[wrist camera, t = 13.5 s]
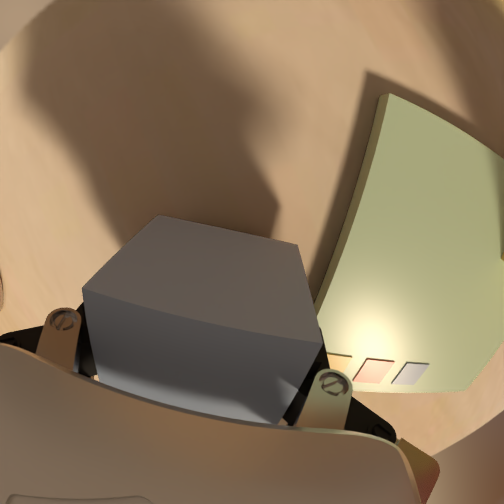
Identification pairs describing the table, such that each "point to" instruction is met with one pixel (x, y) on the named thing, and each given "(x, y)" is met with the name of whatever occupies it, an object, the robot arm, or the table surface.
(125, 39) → the table surface
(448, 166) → the building board
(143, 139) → the table surface
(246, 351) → the slate block
